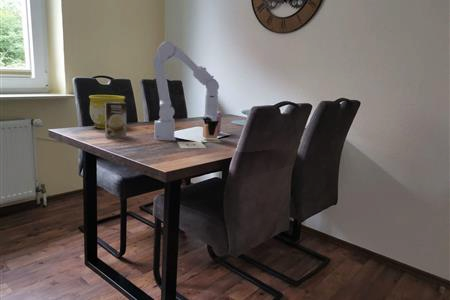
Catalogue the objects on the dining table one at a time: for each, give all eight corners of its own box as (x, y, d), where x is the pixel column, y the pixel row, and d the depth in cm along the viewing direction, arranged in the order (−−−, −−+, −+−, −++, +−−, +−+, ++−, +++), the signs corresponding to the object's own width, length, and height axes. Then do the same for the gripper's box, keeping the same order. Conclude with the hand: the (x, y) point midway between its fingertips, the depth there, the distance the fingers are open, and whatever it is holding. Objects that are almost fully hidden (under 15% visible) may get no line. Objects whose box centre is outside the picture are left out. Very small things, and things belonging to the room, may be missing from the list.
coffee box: (106, 138, 155) (105, 102, 151) (104, 135, 161) (104, 101, 157) (126, 137, 159) (126, 103, 155) (125, 135, 164) (124, 101, 161)
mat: (202, 143, 156) (202, 141, 156) (198, 139, 165) (198, 138, 165) (221, 142, 159) (221, 141, 159) (216, 139, 167) (216, 138, 167)
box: (216, 136, 175) (217, 113, 172) (205, 135, 176) (206, 112, 173) (220, 132, 185) (221, 111, 182) (210, 132, 186) (211, 110, 183)
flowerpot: (131, 128, 183) (131, 97, 179) (99, 131, 170) (98, 98, 166) (115, 123, 195) (115, 94, 191) (84, 125, 182) (83, 95, 179)
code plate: (180, 148, 142) (180, 147, 142) (177, 142, 154) (177, 141, 154) (206, 148, 145) (206, 147, 145) (201, 142, 157) (201, 141, 157)
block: (205, 138, 158) (206, 125, 157) (202, 136, 163) (203, 123, 162) (216, 138, 160) (217, 125, 158) (213, 136, 165) (214, 124, 163)
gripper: (223, 107, 152) (222, 137, 155) (215, 103, 166) (214, 131, 169) (208, 106, 150) (206, 136, 153) (201, 103, 164) (200, 131, 167)
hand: (209, 133), depth 161 cm, fingers closed on block, 5 cm apart
